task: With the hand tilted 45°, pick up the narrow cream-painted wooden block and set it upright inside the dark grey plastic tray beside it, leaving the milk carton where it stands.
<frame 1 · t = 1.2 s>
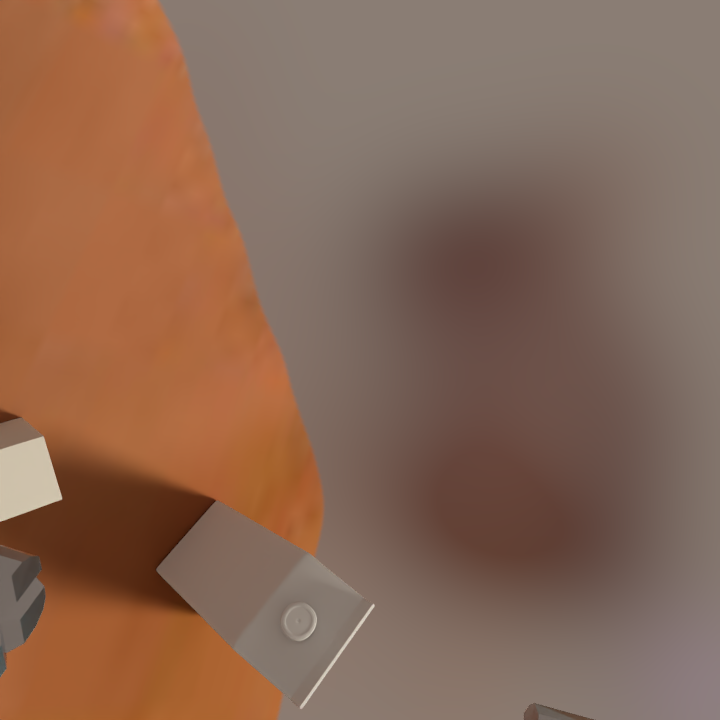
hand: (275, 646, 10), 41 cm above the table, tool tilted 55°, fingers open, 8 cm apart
milk carton: (213, 557, 55), on the table
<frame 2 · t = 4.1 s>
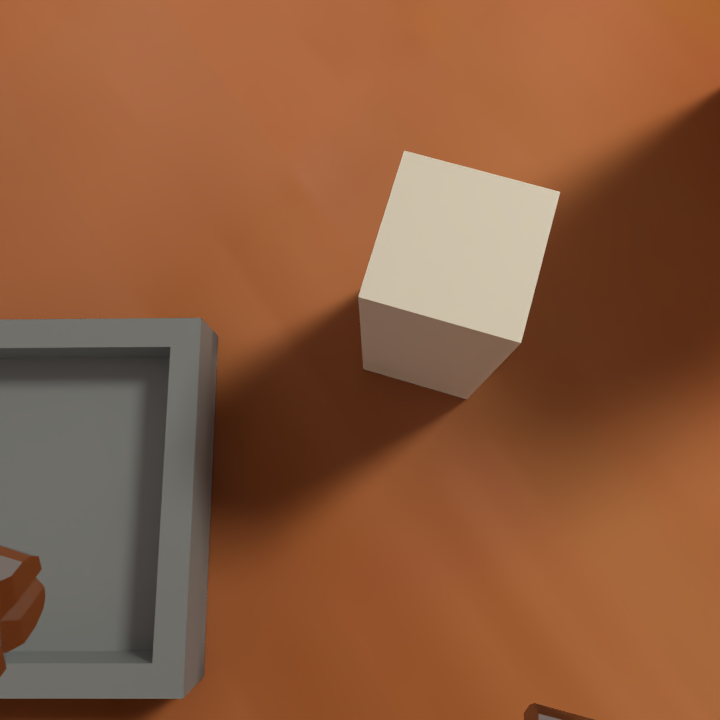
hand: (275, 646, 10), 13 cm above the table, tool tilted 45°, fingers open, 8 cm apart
grey tray: (46, 497, 24), on the table
cream block: (429, 334, 25), on the table
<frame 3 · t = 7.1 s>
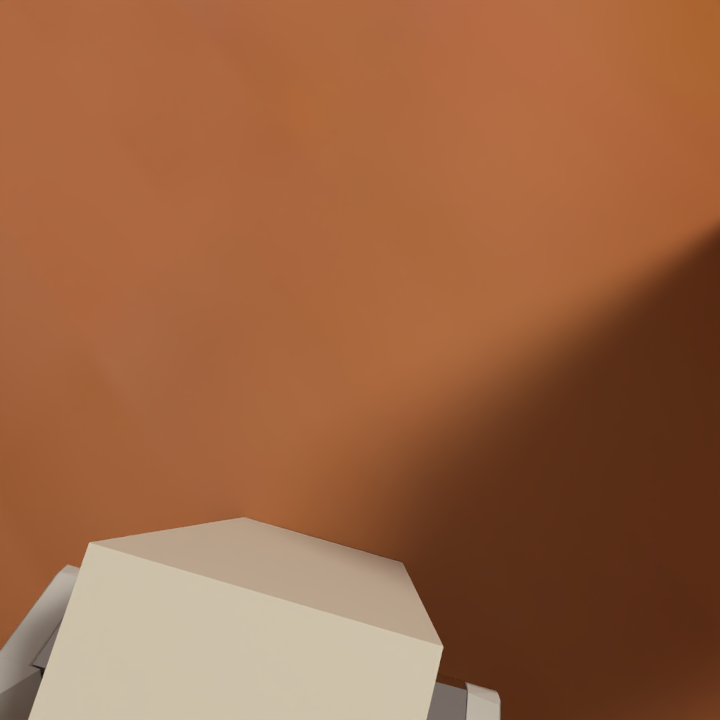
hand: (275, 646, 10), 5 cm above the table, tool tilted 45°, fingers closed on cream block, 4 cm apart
cream block: (299, 623, 15), on the table, touching gripper
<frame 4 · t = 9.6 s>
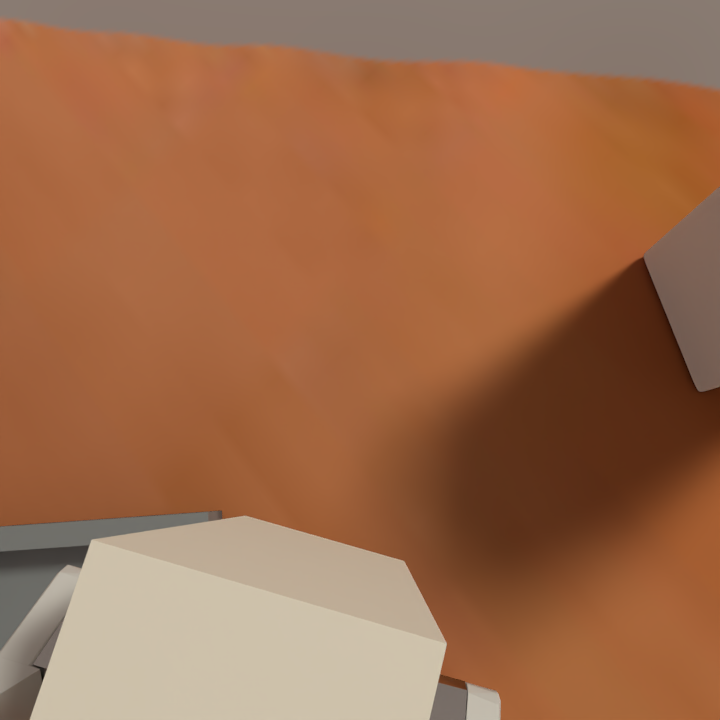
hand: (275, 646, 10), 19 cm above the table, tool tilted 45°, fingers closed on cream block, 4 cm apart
grey tray: (88, 660, 29), on the table
cream block: (300, 622, 15), point 14 cm above the table, touching gripper
when the fingers open (7 cm above the table, at t = 12.4 s): cream block drops 2 cm, resting on grey tray.
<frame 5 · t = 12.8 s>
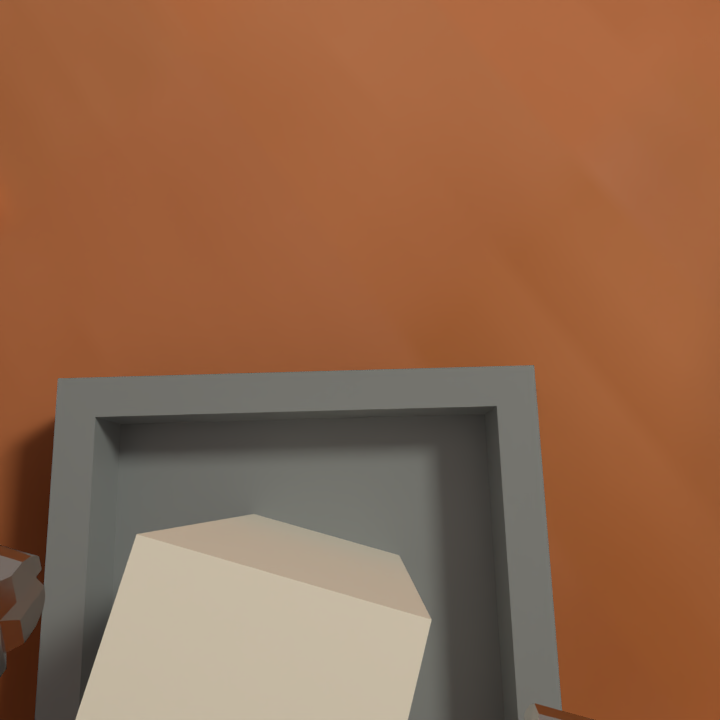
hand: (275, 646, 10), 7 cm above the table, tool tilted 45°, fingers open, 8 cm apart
grey tray: (306, 606, 18), on the table
cream block: (304, 611, 17), point 1 cm above the table, touching grey tray
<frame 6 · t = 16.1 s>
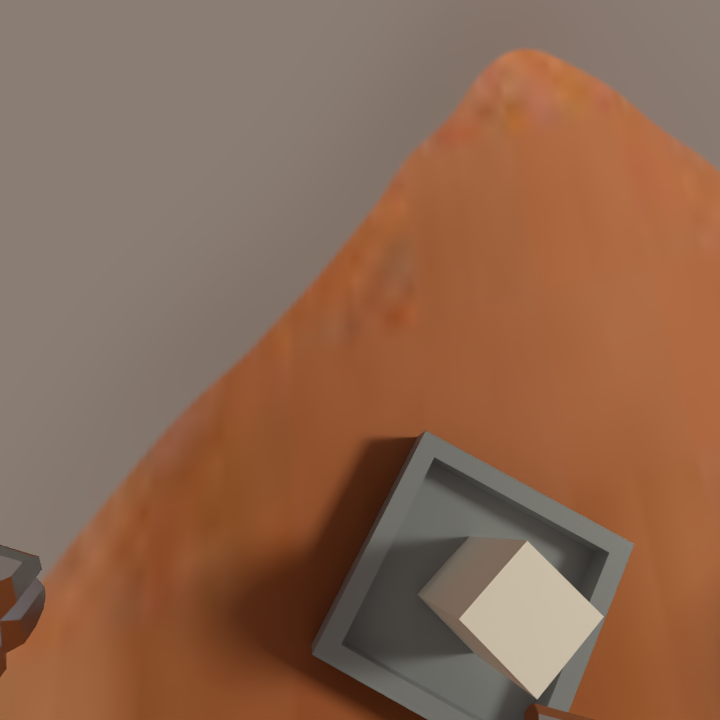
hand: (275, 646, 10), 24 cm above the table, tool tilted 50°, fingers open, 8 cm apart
grey tray: (467, 591, 34), on the table
cream block: (471, 593, 33), point 1 cm above the table, touching grey tray
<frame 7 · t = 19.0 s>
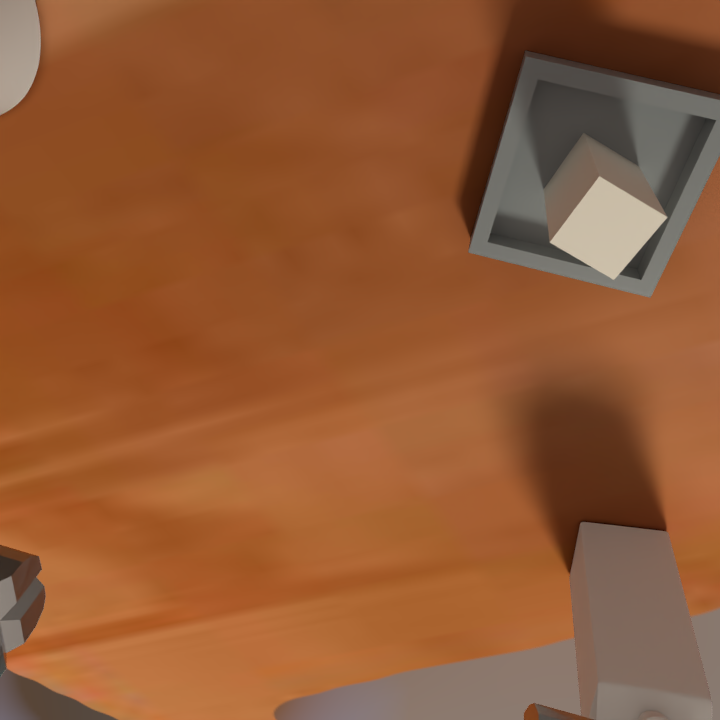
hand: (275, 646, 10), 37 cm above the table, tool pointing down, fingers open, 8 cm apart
milk carton: (616, 551, 58), on the table
grey tray: (588, 173, 41), on the table
cream block: (590, 178, 41), point 1 cm above the table, touching grey tray
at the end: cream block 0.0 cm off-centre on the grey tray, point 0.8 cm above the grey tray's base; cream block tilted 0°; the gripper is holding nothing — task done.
